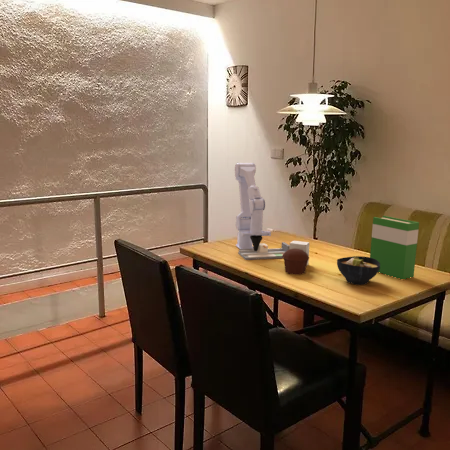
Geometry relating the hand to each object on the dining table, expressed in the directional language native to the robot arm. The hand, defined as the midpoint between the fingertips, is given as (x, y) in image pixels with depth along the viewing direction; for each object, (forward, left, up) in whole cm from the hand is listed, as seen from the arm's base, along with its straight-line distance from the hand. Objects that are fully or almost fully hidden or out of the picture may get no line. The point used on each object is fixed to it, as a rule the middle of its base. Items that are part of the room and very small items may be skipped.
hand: (255, 250), depth 235 cm
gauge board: (+2, +5, -2) cm, 5 cm away
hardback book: (+40, +50, -3) cm, 63 cm away
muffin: (+30, +9, -3) cm, 31 cm away
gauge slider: (+1, +3, -1) cm, 4 cm away
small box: (+20, +15, -3) cm, 24 cm away
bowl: (+48, +29, -3) cm, 56 cm away
